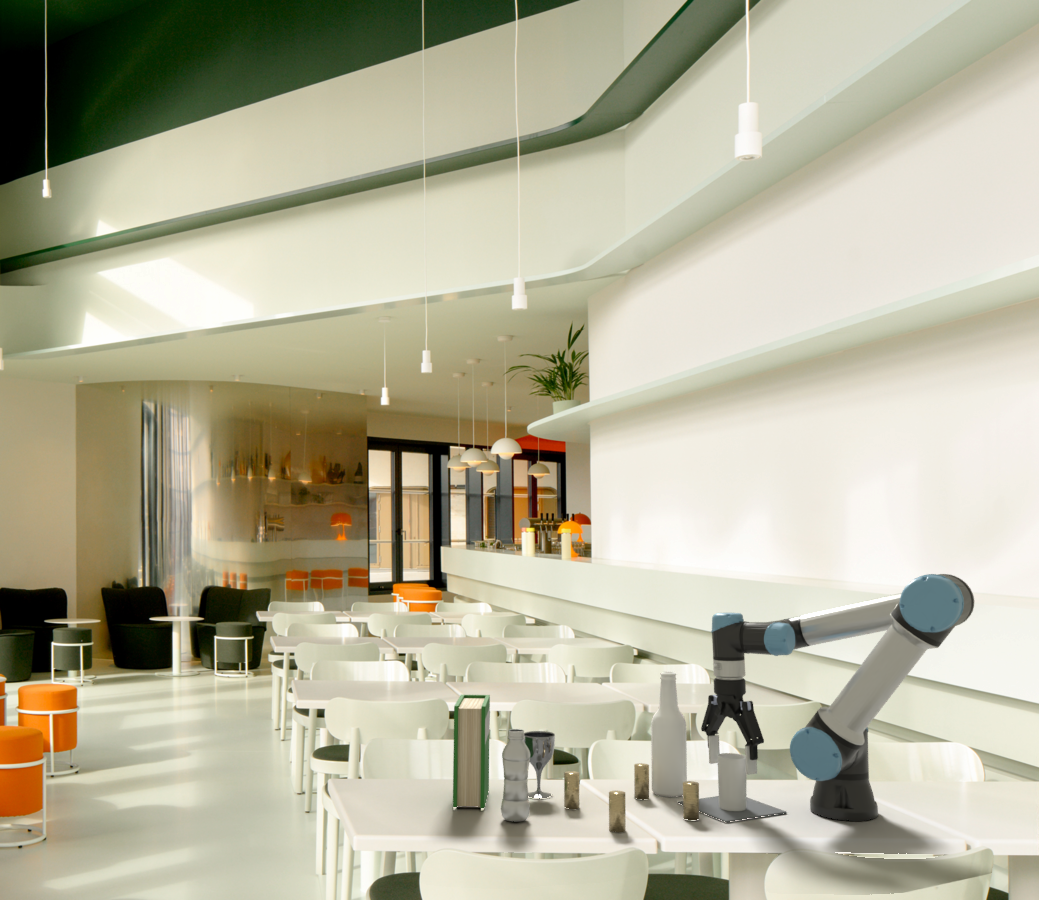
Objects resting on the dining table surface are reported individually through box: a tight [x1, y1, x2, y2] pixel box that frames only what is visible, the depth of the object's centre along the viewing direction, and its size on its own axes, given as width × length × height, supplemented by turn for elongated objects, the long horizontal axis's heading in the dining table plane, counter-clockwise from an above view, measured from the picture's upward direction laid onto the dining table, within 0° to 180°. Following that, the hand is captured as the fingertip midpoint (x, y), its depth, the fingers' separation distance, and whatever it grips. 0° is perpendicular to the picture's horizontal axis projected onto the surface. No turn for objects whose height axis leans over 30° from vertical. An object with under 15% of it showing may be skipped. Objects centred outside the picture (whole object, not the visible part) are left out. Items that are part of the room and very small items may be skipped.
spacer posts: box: [563, 762, 700, 834], centre depth 222 cm, size 24×24×8 cm
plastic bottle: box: [500, 728, 531, 823], centre depth 216 cm, size 6×7×20 cm
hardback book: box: [452, 694, 491, 808], centre depth 233 cm, size 18×7×24 cm, turn 178°
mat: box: [677, 795, 788, 822], centre depth 226 cm, size 18×18×1 cm
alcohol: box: [650, 671, 688, 798], centre depth 241 cm, size 9×9×30 cm
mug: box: [717, 752, 747, 812], centre depth 227 cm, size 10×7×12 cm, turn 167°
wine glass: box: [523, 730, 556, 799], centre depth 237 cm, size 8×8×15 cm
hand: (732, 768), depth 226 cm, fingers open, 13 cm apart
